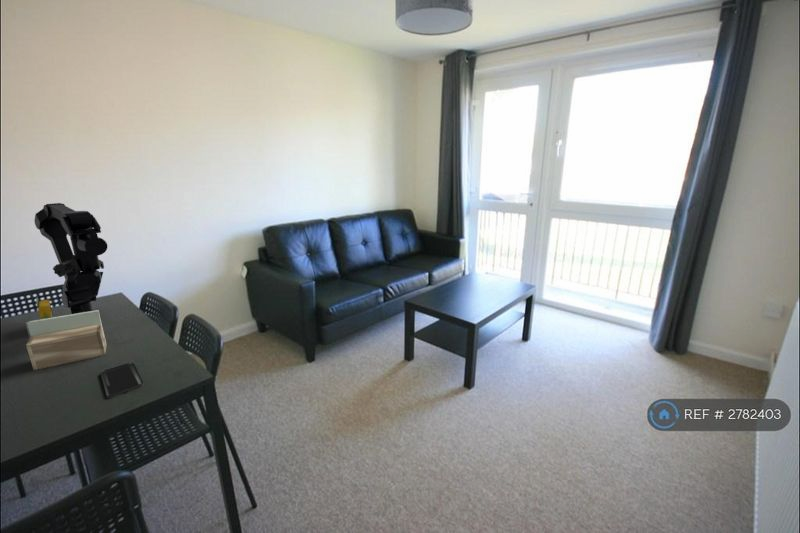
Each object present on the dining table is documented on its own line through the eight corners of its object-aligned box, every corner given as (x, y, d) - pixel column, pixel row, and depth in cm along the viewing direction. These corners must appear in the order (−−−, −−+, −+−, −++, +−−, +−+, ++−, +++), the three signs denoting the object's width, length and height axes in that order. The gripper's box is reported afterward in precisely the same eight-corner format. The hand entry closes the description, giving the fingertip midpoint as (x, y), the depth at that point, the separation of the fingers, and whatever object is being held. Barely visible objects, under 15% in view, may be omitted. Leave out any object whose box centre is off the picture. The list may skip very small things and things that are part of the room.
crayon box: (56, 331, 126) (47, 300, 122) (44, 334, 124) (35, 302, 120) (56, 324, 131) (47, 294, 128) (44, 326, 129) (36, 296, 126)
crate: (38, 361, 108) (30, 336, 106) (106, 346, 117) (101, 323, 115) (33, 370, 104) (26, 345, 101) (105, 354, 112) (99, 331, 110)
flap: (36, 358, 109) (25, 321, 105) (106, 344, 118) (98, 309, 114) (35, 360, 108) (24, 323, 105) (106, 345, 117) (98, 311, 114)
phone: (133, 361, 108) (143, 384, 97) (133, 365, 108) (144, 388, 98) (99, 371, 102) (106, 397, 92) (100, 375, 103) (107, 400, 93)
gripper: (56, 247, 122) (67, 291, 127) (46, 260, 107) (59, 309, 112) (99, 243, 128) (108, 285, 133) (94, 255, 114) (105, 302, 118)
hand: (95, 295), depth 124 cm, fingers closed
